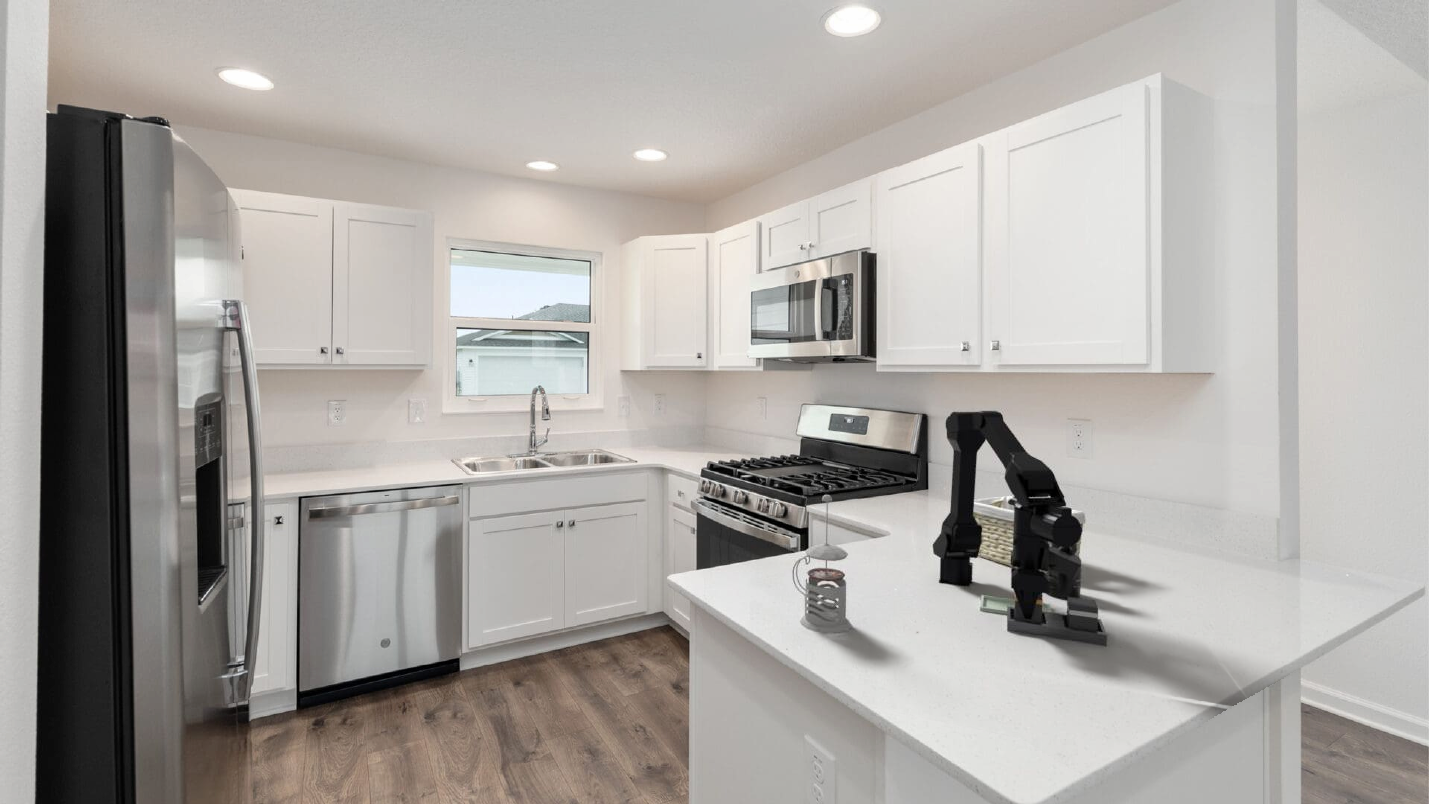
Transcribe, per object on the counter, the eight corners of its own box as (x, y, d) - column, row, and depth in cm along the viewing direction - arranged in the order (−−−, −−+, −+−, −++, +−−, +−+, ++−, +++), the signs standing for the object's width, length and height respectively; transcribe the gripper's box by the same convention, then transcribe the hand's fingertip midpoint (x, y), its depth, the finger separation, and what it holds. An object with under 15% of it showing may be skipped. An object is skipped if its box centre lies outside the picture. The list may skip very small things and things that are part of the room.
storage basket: (963, 553, 176) (964, 498, 175) (1006, 546, 182) (1008, 494, 182) (1040, 579, 154) (1042, 517, 153) (1086, 571, 161) (1088, 511, 160)
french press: (840, 637, 120) (842, 501, 118) (782, 623, 126) (784, 495, 125) (858, 619, 128) (860, 493, 127) (803, 608, 134) (805, 487, 133)
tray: (979, 613, 132) (980, 607, 132) (981, 600, 139) (981, 594, 139) (1052, 623, 127) (1052, 617, 127) (1049, 609, 134) (1049, 604, 134)
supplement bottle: (1085, 603, 138) (1087, 547, 137) (1050, 600, 139) (1051, 545, 139) (1074, 592, 145) (1075, 539, 144) (1040, 590, 146) (1042, 537, 145)
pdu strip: (1007, 633, 122) (1007, 620, 122) (1006, 618, 129) (1007, 606, 129) (1106, 648, 115) (1106, 635, 115) (1100, 632, 123) (1100, 619, 122)
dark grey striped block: (1041, 627, 121) (1042, 595, 121) (1014, 623, 123) (1015, 591, 122) (1040, 618, 125) (1041, 587, 125) (1014, 614, 127) (1015, 584, 127)
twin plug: (1068, 636, 119) (1069, 604, 119) (1066, 627, 123) (1067, 596, 123) (1097, 641, 117) (1098, 608, 117) (1094, 631, 122) (1095, 600, 121)
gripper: (1084, 550, 111) (1081, 640, 112) (1074, 526, 128) (1071, 604, 129) (1012, 543, 116) (1009, 629, 117) (1011, 520, 133) (1009, 596, 134)
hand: (1027, 614), depth 124 cm, fingers closed on dark grey striped block, 4 cm apart
